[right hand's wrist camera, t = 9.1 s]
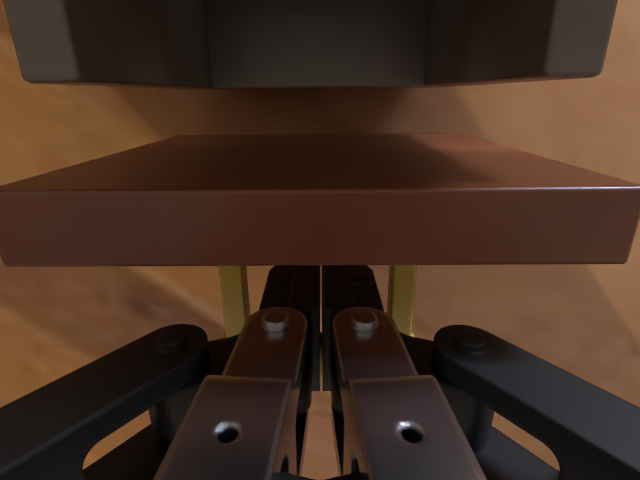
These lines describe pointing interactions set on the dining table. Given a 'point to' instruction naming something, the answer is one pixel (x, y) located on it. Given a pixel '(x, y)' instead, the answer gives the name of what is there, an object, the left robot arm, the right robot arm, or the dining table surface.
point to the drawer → (314, 143)
